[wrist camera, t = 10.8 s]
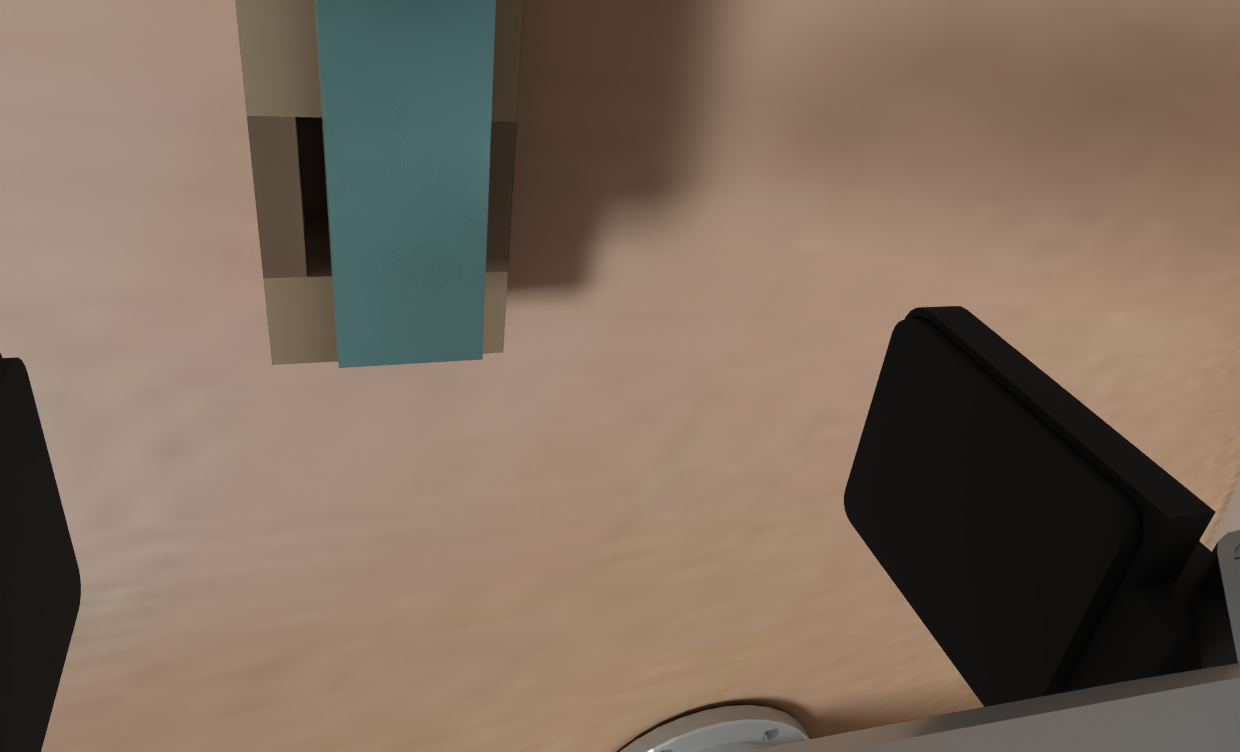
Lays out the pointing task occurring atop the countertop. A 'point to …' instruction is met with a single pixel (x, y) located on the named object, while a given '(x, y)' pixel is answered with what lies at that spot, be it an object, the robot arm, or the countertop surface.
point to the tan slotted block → (289, 242)
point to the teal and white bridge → (407, 174)
